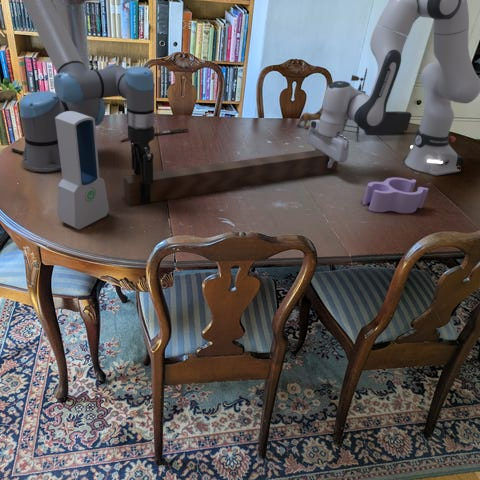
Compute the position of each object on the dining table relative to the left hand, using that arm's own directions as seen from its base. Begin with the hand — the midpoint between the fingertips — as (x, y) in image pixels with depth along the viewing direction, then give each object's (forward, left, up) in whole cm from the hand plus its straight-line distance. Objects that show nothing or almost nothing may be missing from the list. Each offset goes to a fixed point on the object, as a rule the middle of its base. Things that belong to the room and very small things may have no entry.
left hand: (142, 197), depth 145 cm
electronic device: (-12, -16, -1) cm, 20 cm away
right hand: (+57, +41, +2) cm, 71 cm away
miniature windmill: (+70, +83, -1) cm, 108 cm away
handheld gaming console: (+88, +95, -1) cm, 129 cm away
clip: (+80, +20, -1) cm, 82 cm away
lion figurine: (+53, +90, -1) cm, 104 cm away
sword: (-11, +53, -1) cm, 54 cm away
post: (+28, +21, -1) cm, 35 cm away
